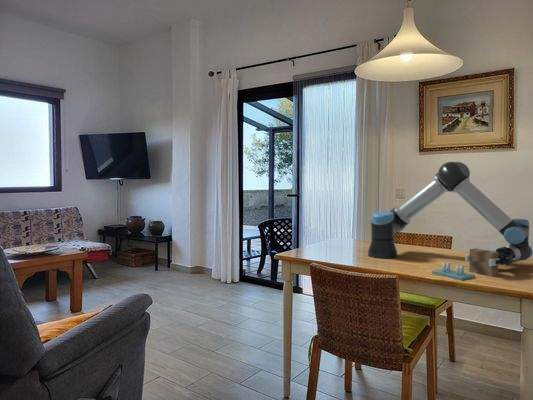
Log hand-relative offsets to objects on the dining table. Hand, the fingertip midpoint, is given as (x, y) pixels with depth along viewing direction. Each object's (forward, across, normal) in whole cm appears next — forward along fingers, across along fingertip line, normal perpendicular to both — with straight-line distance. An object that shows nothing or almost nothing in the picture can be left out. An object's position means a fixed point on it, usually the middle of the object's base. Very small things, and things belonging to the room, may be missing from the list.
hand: (477, 260), depth 171 cm
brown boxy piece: (-4, 0, -6) cm, 7 cm away
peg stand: (+9, +5, -6) cm, 12 cm away
